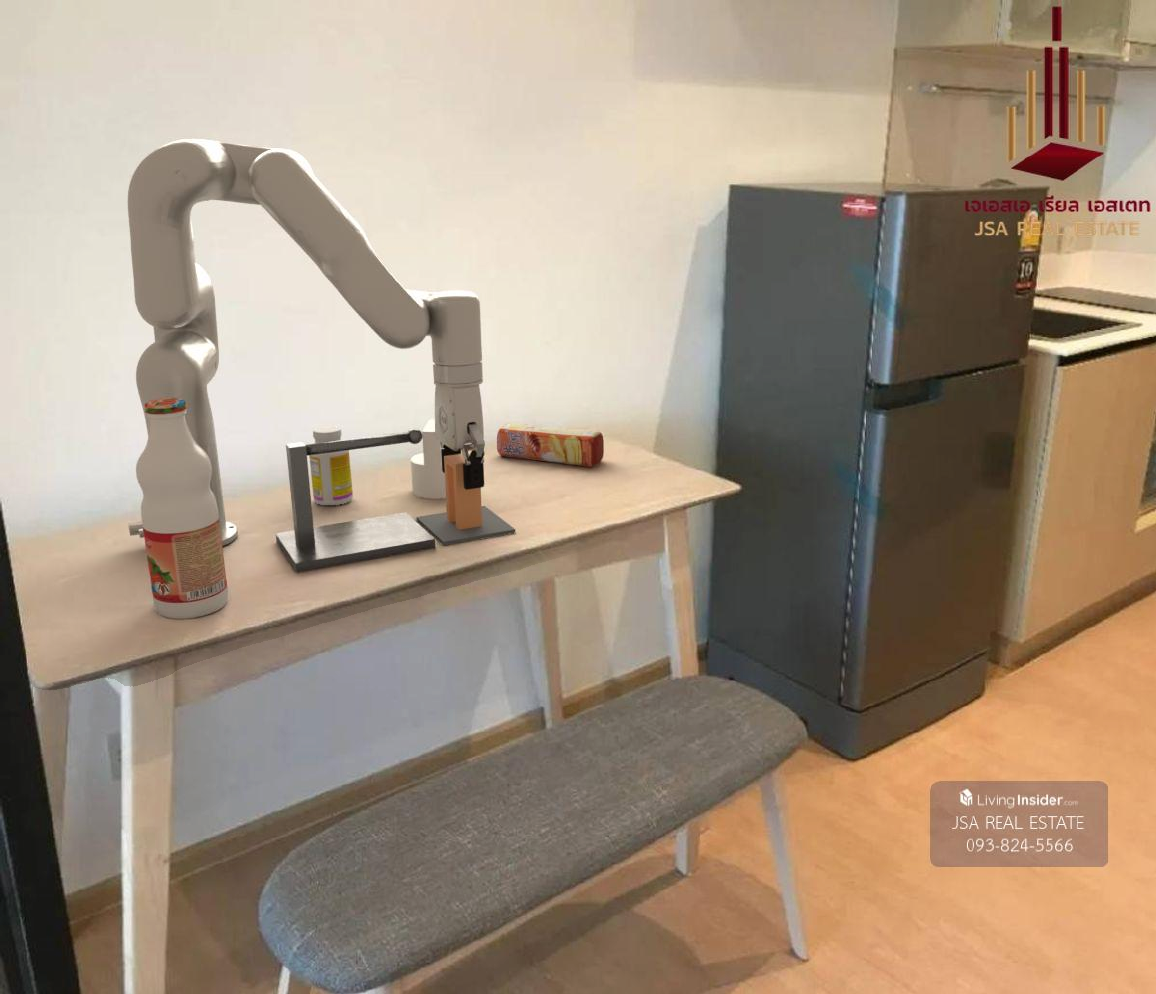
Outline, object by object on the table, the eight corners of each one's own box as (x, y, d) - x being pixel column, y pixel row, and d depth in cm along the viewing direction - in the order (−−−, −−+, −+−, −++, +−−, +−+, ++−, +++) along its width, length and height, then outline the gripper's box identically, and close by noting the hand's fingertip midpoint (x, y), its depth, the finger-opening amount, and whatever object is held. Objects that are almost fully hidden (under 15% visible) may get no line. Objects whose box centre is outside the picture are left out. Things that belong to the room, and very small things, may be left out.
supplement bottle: (358, 495, 187) (352, 424, 183) (346, 507, 180) (340, 434, 176) (321, 494, 187) (314, 423, 183) (308, 506, 181) (301, 433, 177)
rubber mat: (443, 545, 163) (443, 541, 163) (416, 520, 174) (416, 516, 174) (515, 532, 168) (515, 529, 168) (484, 509, 179) (484, 505, 179)
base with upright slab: (460, 498, 184) (456, 431, 181) (408, 498, 185) (404, 431, 181) (466, 483, 193) (463, 418, 189) (417, 483, 193) (413, 419, 189)
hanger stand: (296, 572, 153) (285, 458, 147) (276, 542, 165) (265, 435, 159) (442, 546, 162) (436, 438, 157) (413, 519, 174) (407, 417, 169)
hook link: (458, 529, 168) (455, 464, 164) (447, 520, 172) (443, 456, 169) (482, 525, 169) (479, 460, 166) (470, 516, 174) (467, 452, 170)
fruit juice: (220, 618, 138) (194, 409, 129) (146, 622, 137) (114, 411, 129) (235, 590, 147) (211, 392, 138) (165, 593, 146) (137, 394, 137)
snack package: (494, 458, 209) (493, 425, 207) (510, 450, 214) (509, 417, 212) (592, 471, 200) (592, 436, 198) (606, 462, 206) (606, 428, 203)
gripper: (416, 366, 169) (422, 469, 174) (454, 386, 154) (459, 498, 159) (461, 361, 172) (465, 462, 177) (502, 381, 157) (506, 491, 163)
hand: (462, 479), depth 168 cm, fingers open, 9 cm apart
